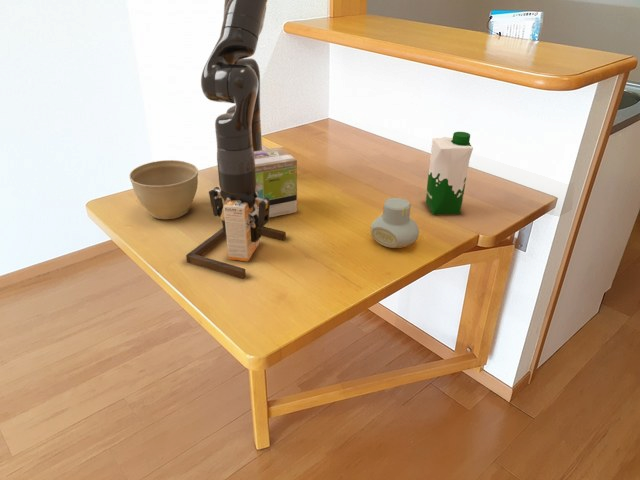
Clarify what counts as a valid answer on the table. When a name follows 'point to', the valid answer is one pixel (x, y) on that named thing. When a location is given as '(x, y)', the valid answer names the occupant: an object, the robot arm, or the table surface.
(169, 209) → the planter bowl
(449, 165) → the milk carton
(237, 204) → the supplement box
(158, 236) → the table surface
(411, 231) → the air freshener
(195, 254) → the bay
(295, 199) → the tea box
